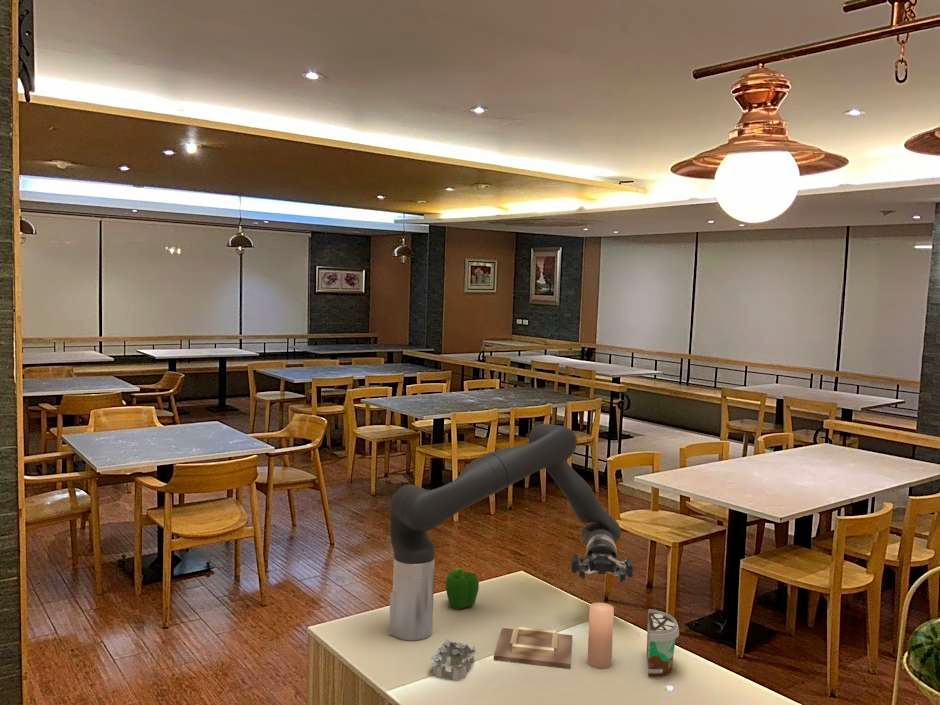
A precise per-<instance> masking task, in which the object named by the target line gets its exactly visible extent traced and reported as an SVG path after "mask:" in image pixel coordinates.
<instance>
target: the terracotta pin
mask: <svg viewBox="0 0 940 705" xmlns="http://www.w3.org/2000/svg"><path fill="white" fill-rule="evenodd" d="M614 609H615V607H614V606H613V605H611V604H610V603H605V602H593V603H590V604H589V615H588V616H589V617H588V638H587V639H588V640H587V664H588V665H589V666H590V667H591V668H595V669H599V670H603V669H608V668H611V666H612V662H613V661H612V660H613V659H612V658H613V640H614V639H613V636H614V634H613V633H614V616H615V615H614V612H615V610H614Z"/></svg>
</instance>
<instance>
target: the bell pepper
mask: <svg viewBox="0 0 940 705" xmlns="http://www.w3.org/2000/svg"><path fill="white" fill-rule="evenodd" d="M445 579H446V581H445V590H446V591H445V592H446V595H447V596H446V597H447V601H448V603H449V605H450V606H451V607H452V608H453V609H457V610H461V609H466V608H472V606H473V605H474V603H475V602H476V599H477V596H478V592H479V587H480V582H479V579H478V576H477V574H476V572H467V571H465V570H463V568H462V567H460V566H459V567H456V568H455V569H454V570H453V571H449V572H448V575H447V577H446V578H445Z"/></svg>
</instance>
